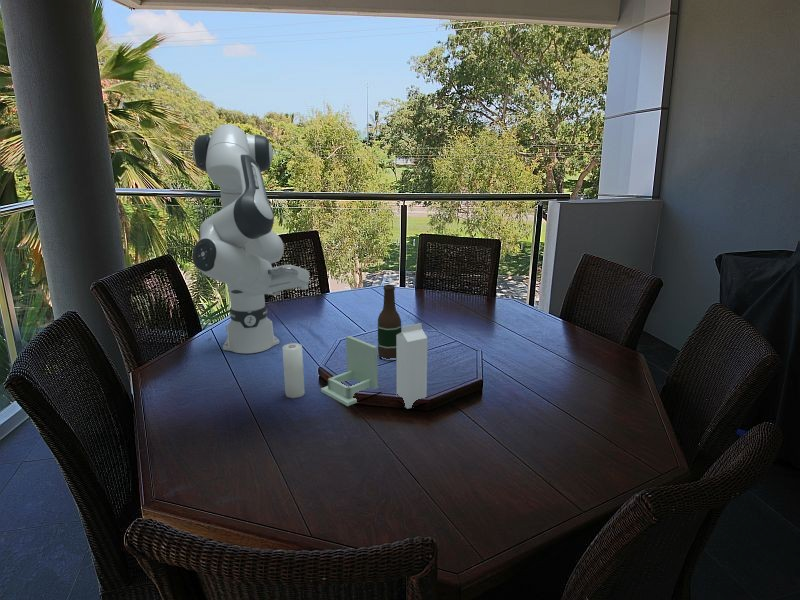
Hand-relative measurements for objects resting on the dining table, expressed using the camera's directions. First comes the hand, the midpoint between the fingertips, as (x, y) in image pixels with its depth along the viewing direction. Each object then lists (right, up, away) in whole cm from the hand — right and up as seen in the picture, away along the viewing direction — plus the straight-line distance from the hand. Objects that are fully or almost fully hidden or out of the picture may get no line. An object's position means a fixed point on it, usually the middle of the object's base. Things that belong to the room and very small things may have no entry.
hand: (291, 289), depth 142 cm
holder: (+15, -28, +9) cm, 33 cm away
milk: (+32, -30, +3) cm, 44 cm away
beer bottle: (+25, -21, +34) cm, 47 cm away
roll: (-1, -29, +8) cm, 30 cm away
